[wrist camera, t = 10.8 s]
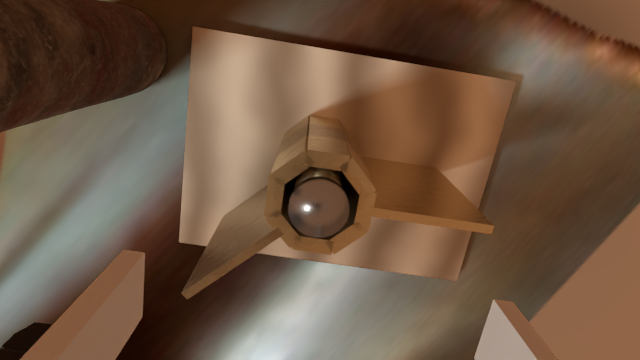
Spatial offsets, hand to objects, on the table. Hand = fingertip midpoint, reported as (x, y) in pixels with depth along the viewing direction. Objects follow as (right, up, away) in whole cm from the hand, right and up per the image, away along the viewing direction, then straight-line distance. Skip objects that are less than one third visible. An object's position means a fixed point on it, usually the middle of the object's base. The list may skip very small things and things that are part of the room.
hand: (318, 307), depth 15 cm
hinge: (+1, +5, +23) cm, 23 cm away
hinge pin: (0, +7, +22) cm, 23 cm away
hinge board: (+2, +6, +24) cm, 25 cm away
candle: (-17, +16, +21) cm, 31 cm away
